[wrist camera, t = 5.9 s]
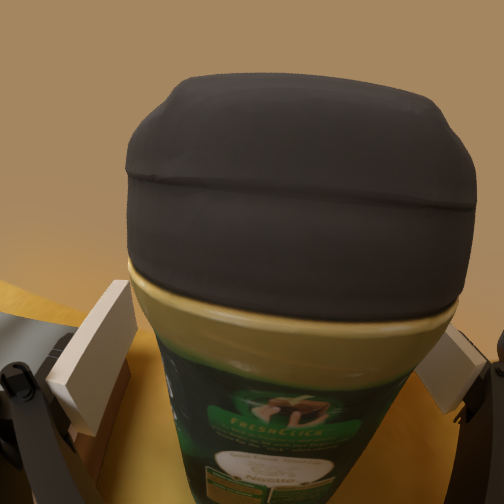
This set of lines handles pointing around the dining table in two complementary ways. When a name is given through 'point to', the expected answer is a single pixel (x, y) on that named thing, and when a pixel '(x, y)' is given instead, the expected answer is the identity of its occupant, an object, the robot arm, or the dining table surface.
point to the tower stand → (33, 354)
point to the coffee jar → (292, 268)
